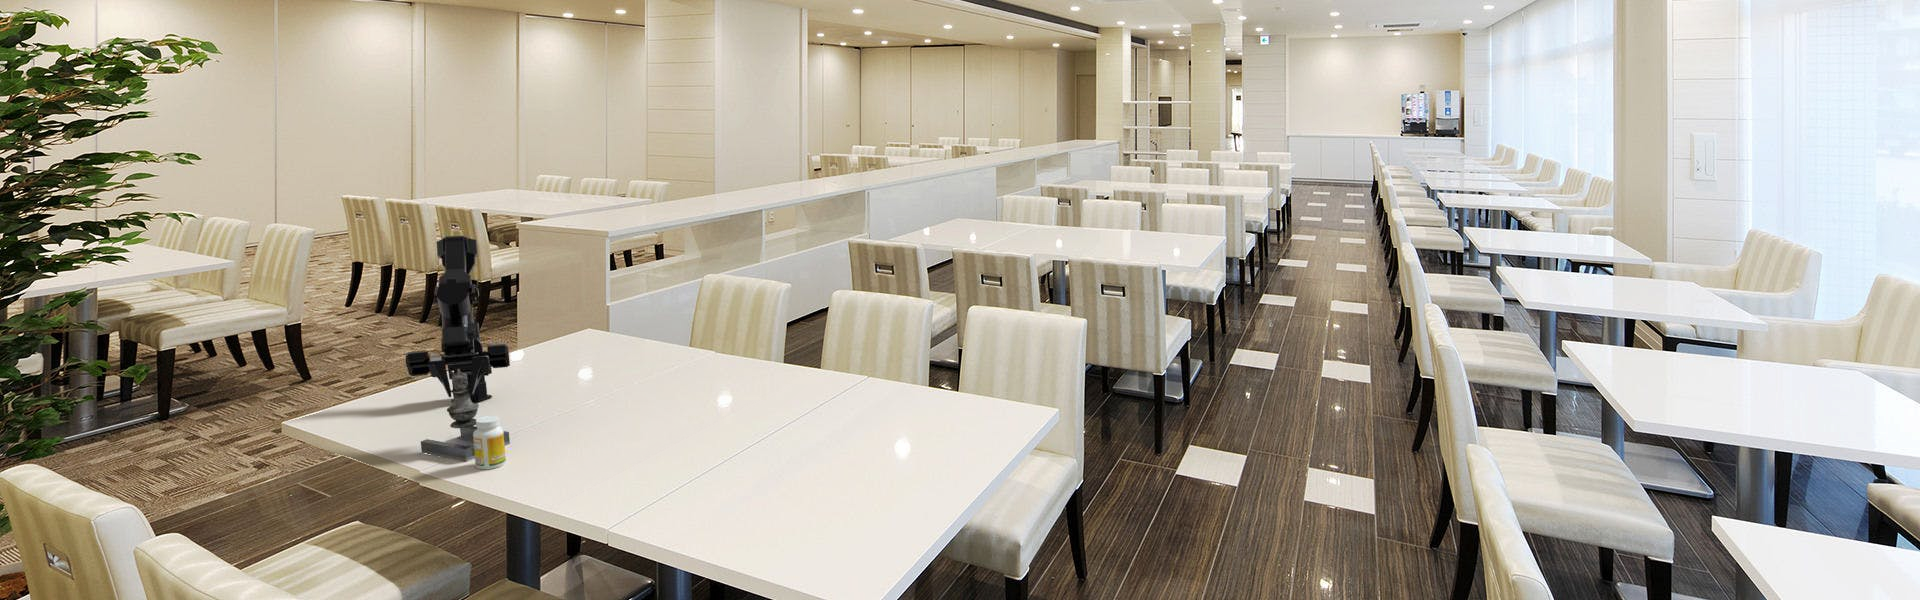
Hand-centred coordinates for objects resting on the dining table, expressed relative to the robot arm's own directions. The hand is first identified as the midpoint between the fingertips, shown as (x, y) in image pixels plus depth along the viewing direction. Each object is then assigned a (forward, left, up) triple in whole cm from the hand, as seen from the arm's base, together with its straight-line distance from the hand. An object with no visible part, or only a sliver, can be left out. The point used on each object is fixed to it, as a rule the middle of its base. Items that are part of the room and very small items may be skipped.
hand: (460, 395), depth 186 cm
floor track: (-1, +1, -12) cm, 12 cm away
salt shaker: (-1, +1, -7) cm, 7 cm away
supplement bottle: (+11, -4, -12) cm, 17 cm away
